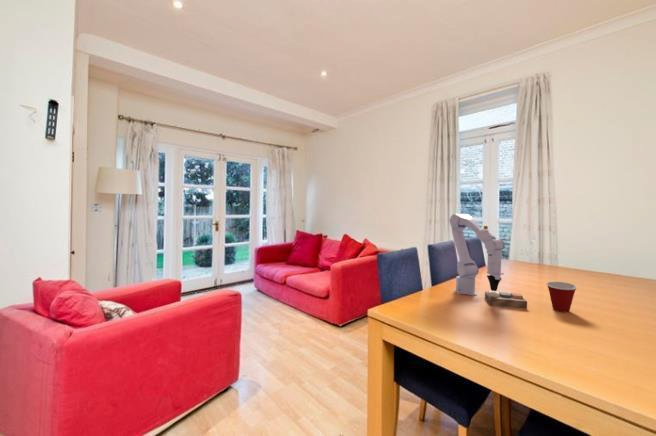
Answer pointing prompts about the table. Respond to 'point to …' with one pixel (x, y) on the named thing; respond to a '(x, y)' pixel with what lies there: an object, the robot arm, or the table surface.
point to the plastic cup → (561, 295)
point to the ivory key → (493, 293)
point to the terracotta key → (516, 295)
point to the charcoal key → (505, 295)
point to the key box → (506, 302)
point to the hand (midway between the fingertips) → (493, 290)
